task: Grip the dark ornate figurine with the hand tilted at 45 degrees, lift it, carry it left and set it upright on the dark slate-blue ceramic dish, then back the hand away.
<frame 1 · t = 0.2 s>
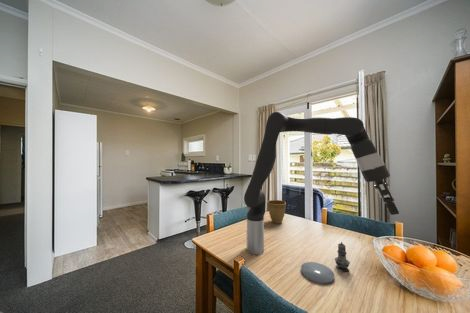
hand: (393, 211, 60), 31 cm above the table, tool tilted 20°, fingers open, 8 cm apart
dark ornate figurine: (342, 269, 78), on the table
dish: (317, 273, 75), on the table
plant pot: (276, 222, 137), on the table
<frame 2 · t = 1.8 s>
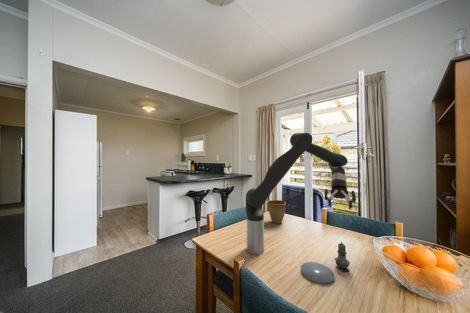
hand: (340, 207, 88), 25 cm above the table, tool tilted 45°, fingers open, 8 cm apart
nothing on the table moved.
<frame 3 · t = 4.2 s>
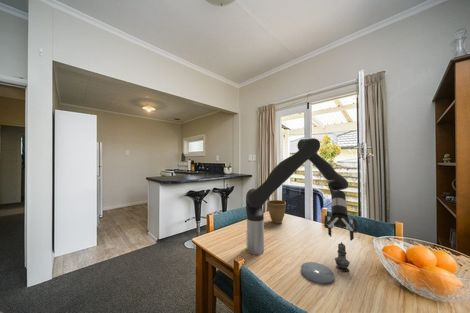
hand: (340, 237, 83), 11 cm above the table, tool tilted 45°, fingers open, 8 cm apart
nothing on the table moved.
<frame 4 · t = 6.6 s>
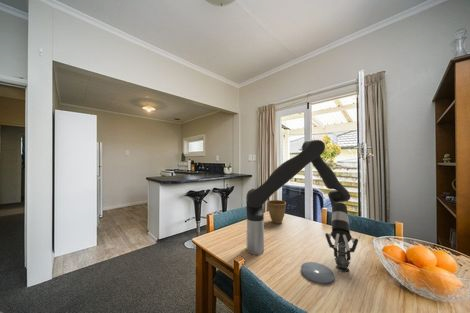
hand: (342, 259, 76), 5 cm above the table, tool tilted 45°, fingers closed on dark ornate figurine, 3 cm apart
dark ornate figurine: (342, 269, 78), on the table, touching gripper
everything else where it was.
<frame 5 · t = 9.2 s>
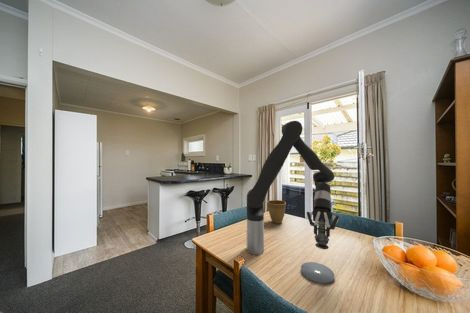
hand: (321, 235, 74), 16 cm above the table, tool tilted 45°, fingers closed on dark ornate figurine, 3 cm apart
dark ornate figurine: (321, 246, 76), point 11 cm above the table, touching gripper
everything else where it was.
when the fingers open (8 cm above the table, at t = 12.1 s): dark ornate figurine drops 1 cm, resting on dish.
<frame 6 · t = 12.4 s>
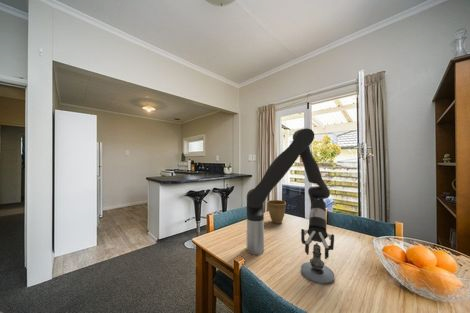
hand: (316, 256, 73), 8 cm above the table, tool tilted 45°, fingers open, 6 cm apart
dark ornate figurine: (316, 270, 75), point 1 cm above the table, touching dish
everything else where it was.
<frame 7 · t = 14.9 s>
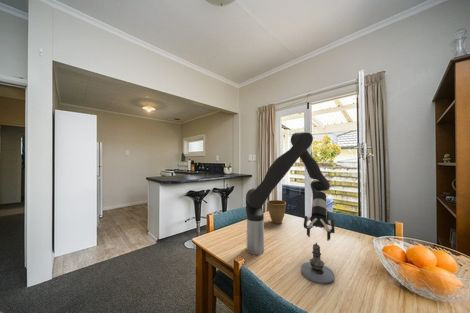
hand: (318, 238, 85), 11 cm above the table, tool tilted 45°, fingers open, 8 cm apart
nothing on the table moved.
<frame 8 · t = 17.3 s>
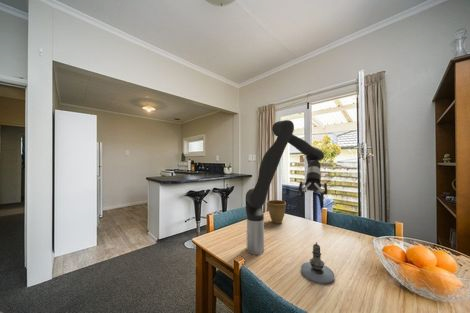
hand: (312, 199, 90), 29 cm above the table, tool tilted 45°, fingers open, 8 cm apart
nothing on the table moved.
at the end: dark ornate figurine inside the target area on the dish (0.2 cm from its centre), point 1.0 cm above the dish's base; dark ornate figurine tilted 0°; the gripper is holding nothing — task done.
